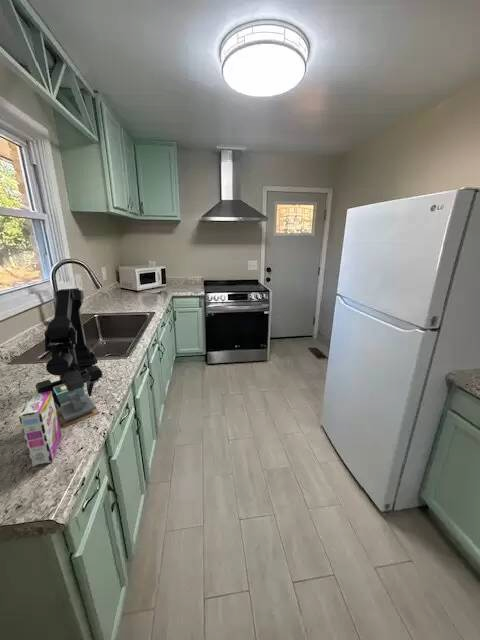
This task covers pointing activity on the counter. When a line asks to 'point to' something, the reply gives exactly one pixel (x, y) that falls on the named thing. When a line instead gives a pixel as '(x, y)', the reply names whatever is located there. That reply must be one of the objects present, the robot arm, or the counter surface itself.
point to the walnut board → (75, 420)
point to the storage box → (66, 393)
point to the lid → (76, 406)
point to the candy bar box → (40, 428)
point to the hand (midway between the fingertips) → (75, 401)
